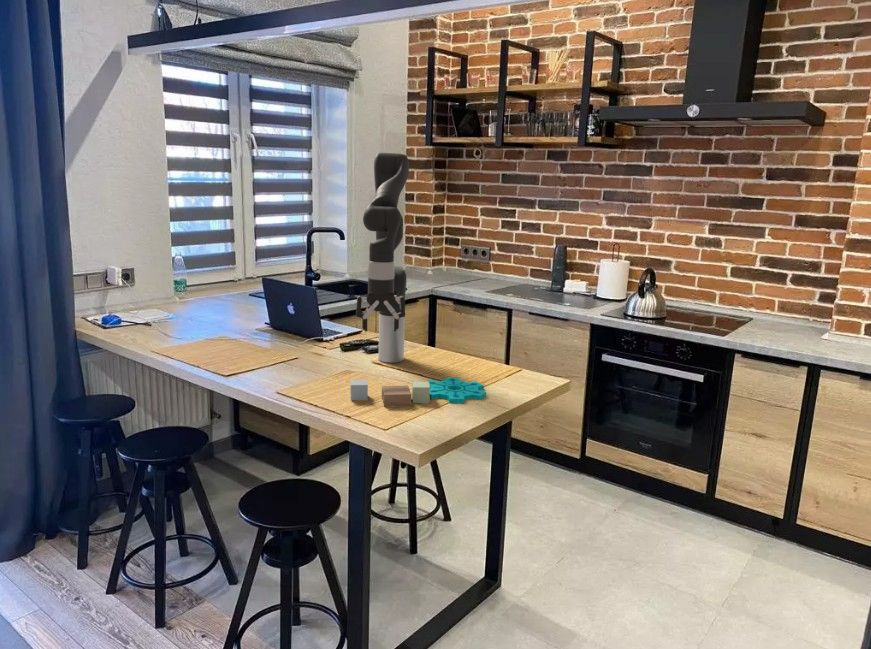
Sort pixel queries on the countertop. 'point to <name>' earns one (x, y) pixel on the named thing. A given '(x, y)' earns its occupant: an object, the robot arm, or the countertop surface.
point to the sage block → (420, 392)
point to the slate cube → (359, 390)
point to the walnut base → (396, 396)
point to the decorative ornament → (456, 390)
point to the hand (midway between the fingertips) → (380, 330)
